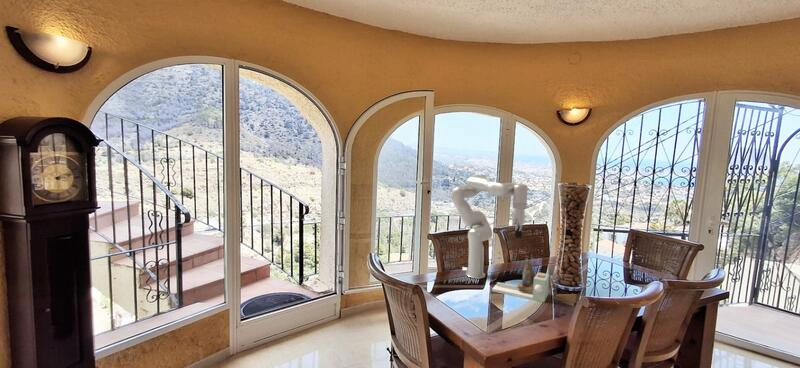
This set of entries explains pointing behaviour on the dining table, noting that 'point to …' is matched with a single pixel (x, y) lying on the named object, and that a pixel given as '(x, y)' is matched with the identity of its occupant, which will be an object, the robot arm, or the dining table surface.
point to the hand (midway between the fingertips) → (518, 237)
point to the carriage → (525, 284)
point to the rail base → (511, 290)
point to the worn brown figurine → (529, 271)
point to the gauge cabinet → (540, 287)
